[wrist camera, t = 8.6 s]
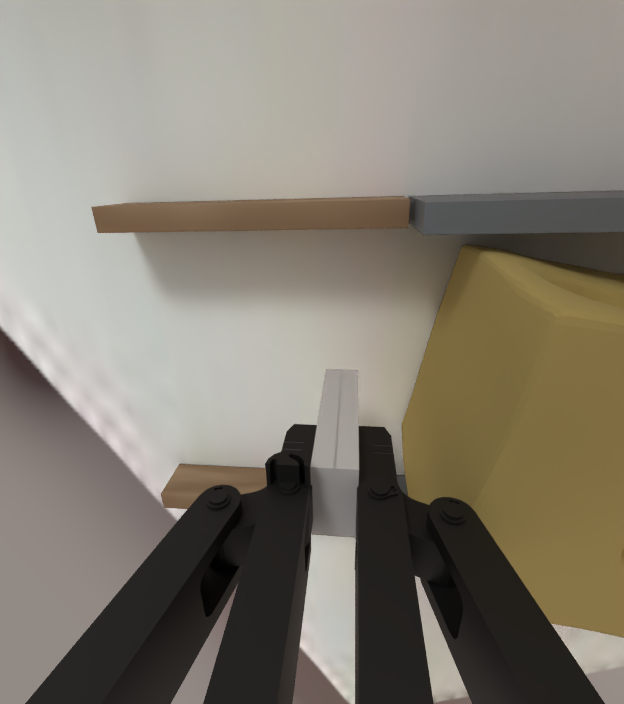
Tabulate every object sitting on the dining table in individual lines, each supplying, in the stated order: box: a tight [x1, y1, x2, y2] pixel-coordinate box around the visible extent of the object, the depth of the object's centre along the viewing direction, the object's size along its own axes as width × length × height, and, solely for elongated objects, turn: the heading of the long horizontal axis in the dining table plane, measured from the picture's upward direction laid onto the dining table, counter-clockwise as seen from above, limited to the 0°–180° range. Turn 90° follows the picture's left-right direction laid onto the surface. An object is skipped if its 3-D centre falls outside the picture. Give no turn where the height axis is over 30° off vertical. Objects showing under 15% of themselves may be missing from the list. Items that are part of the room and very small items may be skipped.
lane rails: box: [92, 196, 410, 509], centre depth 19 cm, size 16×12×2 cm
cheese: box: [402, 245, 624, 638], centre depth 15 cm, size 10×11×10 cm
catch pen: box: [396, 191, 624, 496], centre depth 17 cm, size 16×17×4 cm
